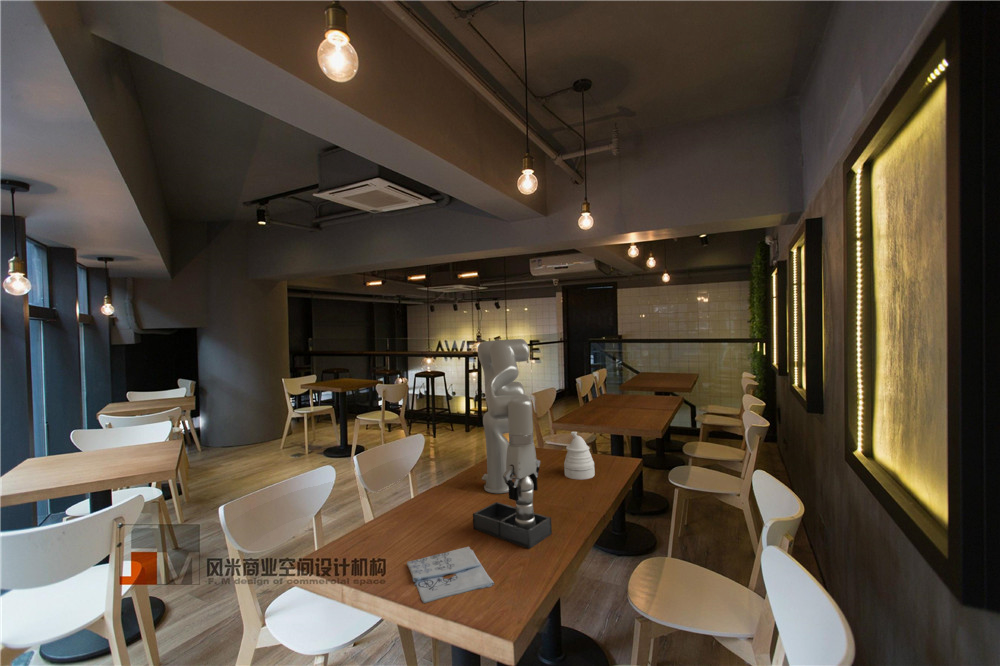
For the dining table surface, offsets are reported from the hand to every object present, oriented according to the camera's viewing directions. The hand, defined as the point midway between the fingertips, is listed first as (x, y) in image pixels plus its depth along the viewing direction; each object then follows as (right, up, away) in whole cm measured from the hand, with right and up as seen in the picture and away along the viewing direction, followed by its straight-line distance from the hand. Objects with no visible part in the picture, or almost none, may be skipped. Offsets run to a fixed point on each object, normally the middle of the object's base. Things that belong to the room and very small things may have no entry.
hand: (523, 494), depth 135 cm
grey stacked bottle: (+1, -12, 0) cm, 12 cm away
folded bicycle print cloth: (-21, -15, -20) cm, 32 cm away
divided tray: (-4, -13, +4) cm, 14 cm away
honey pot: (+27, -12, +55) cm, 62 cm away
